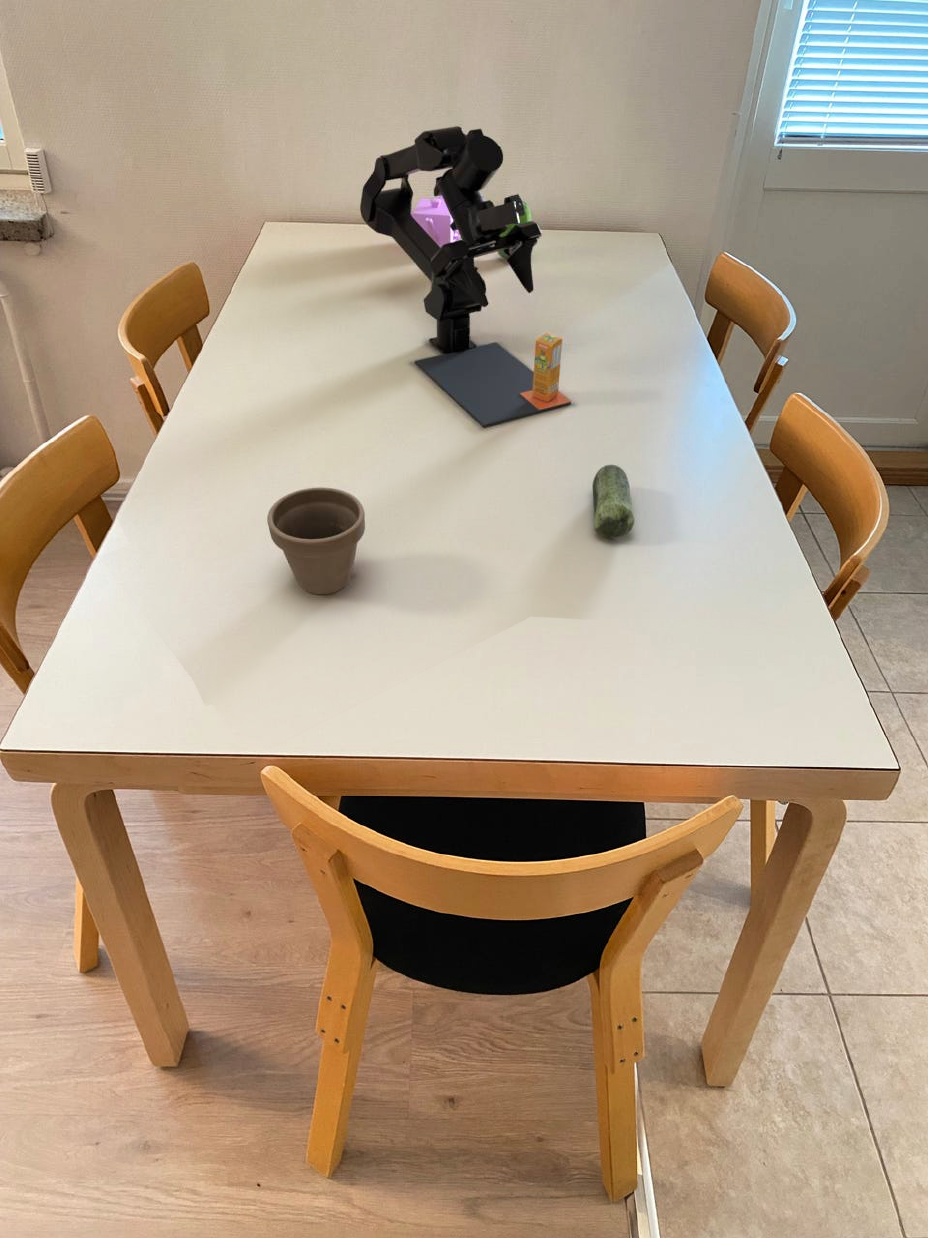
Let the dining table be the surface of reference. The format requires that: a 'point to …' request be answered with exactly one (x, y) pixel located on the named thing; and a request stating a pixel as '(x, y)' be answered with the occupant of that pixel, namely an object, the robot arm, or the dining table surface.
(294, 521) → the flower pot
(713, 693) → the dining table surface
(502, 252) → the avocado
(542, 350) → the supplement box
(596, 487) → the vegetable
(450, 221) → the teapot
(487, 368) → the mat
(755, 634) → the dining table surface
